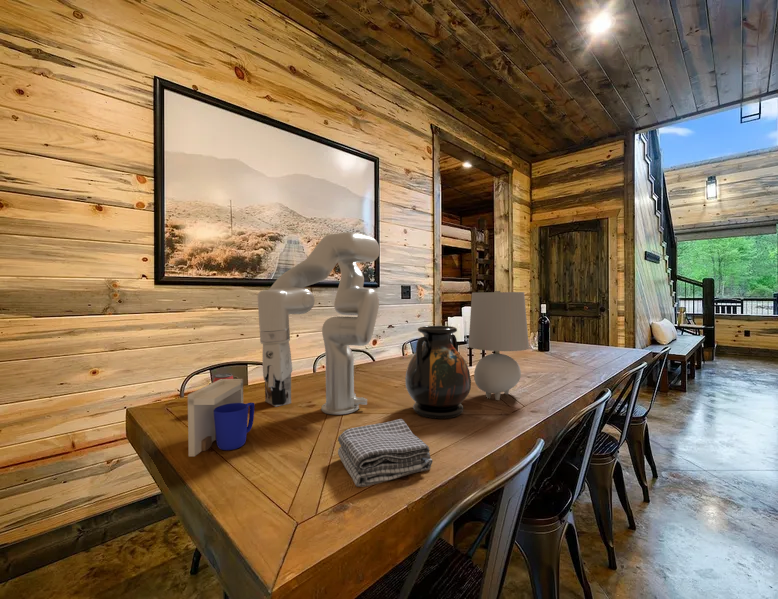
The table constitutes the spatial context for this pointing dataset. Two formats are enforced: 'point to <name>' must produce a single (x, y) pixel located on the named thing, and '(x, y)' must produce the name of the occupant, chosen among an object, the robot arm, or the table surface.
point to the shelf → (209, 411)
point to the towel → (382, 452)
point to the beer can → (223, 376)
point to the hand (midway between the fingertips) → (279, 403)
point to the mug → (232, 424)
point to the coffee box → (287, 390)
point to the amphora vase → (438, 374)
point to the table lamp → (498, 338)
